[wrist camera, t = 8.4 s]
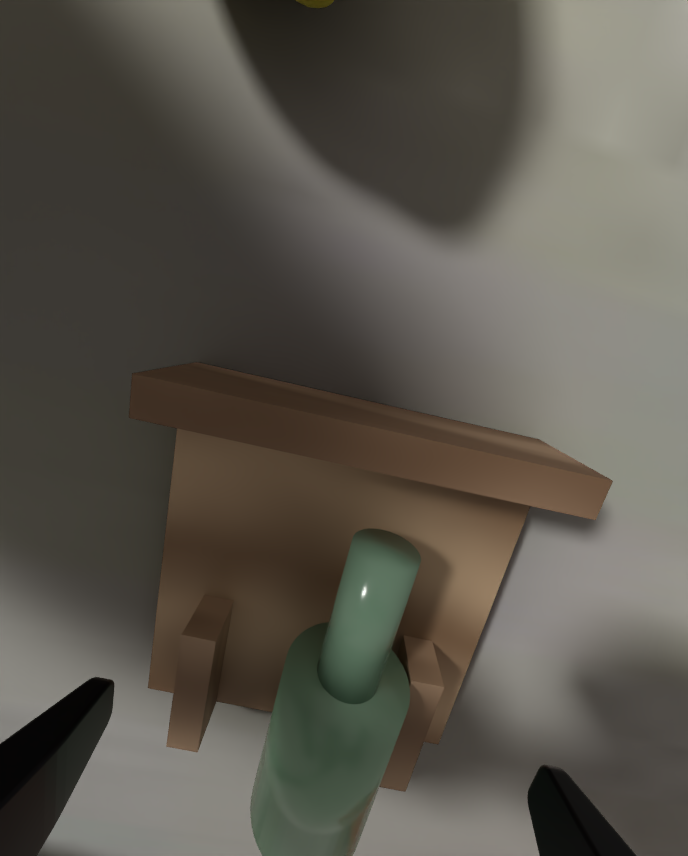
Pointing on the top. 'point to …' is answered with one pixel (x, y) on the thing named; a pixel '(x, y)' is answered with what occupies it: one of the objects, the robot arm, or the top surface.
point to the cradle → (329, 535)
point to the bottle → (337, 709)
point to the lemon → (315, 3)
